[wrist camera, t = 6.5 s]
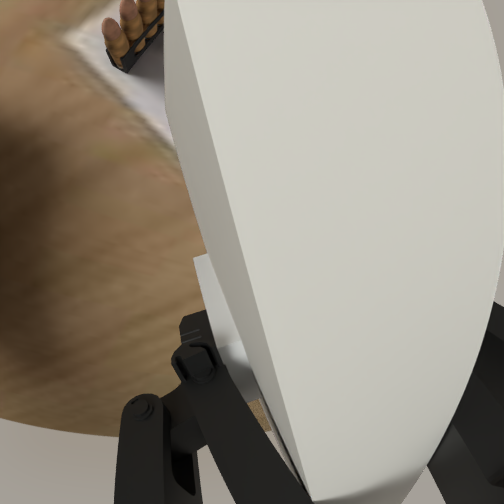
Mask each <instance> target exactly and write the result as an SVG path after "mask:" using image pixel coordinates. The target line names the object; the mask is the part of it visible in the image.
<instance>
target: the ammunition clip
mask: <svg viewBox="0 0 504 504" xmlns="http://www.w3.org/2000/svg"><path fill="white" fill-rule="evenodd" d="M164 2H165V0H137V1H136V4H135V2H134V0H122V1H121V3H120V18H121V19H120V26H121V28H120V27H119V25H118V23H117V22H116V21H115V20H114V19H112V18H105V19H104V20H103V23H102V33H103V35H104V39H105V45H106V47H107V49H106V52H107V55H108V57H109V59H110V61H111V63H112V65H113V66H114V67H116V68H118V69H119V70H121V71H123V72H125V73H128V72H129V71H130V69H131V68H132V67H133V65H134V64H135V63H136V61H137V60H138V59H139V58H140V56H141V55H142V54H143V52H144V51H145V50H146V49H147V48H148V46H149V45H150V44H151V43H152V42H153V40H154V39H155V38H156V37H157V36H158V34H159V33H160V32H161V31H162V30H163V29H164ZM121 29H122V30H121Z"/></svg>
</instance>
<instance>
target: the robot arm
mask: <svg viewBox="0 0 504 504" xmlns="http://www.w3.org/2000/svg"><path fill="white" fill-rule="evenodd" d="M193 260H194V264H195V268H196V272H197V276H198V280H199V284H200V288H201V292H202V296H203V299H204V303H205V307H206V310H203V311H200V312H197V313H194V314H191V315H187V316H184V317H183V319H182V321H181V323H180V325H179V329H180V335H181V343H182V345H181V346H180V347H179V348H178V349H177V350H176V351H175V352H174V354H173V356H172V358H171V364H172V366H173V368H174V370H175V371H176V373H177V375H178V377H179V378H180V380H181V384H180V385H179V386H178V387H177V388H176V389H175V390H173V391H172V392H170V393H169V394H167V395H165V396H163V397H162V398H159V397H158V396H156V395H153V394H141V395H139V396H136V397H134V398H133V399H131V400H130V401H129V402H128V403H127V404H126V406H125V407H124V409H123V412H122V418H121V425H120V434H119V443H118V454H117V464H116V477H115V492H114V504H203V501H202V493H201V485H200V477H199V467H198V457H197V450H199V449H200V448H202V447H204V446H205V445H208V447H209V449H210V451H211V454H212V456H213V458H214V460H215V462H216V464H217V467H218V469H219V471H220V473H221V475H222V477H223V479H224V481H225V483H226V485H227V487H228V489H229V491H230V493H231V495H232V497H233V499H234V501H235V503H236V504H314V503H313V501H312V500H311V498H310V497H309V496H308V494H307V493H306V492H305V490H304V489H303V488H302V486H301V485H300V483H299V482H298V481H297V479H296V478H295V476H294V475H293V473H292V472H291V471H290V469H289V468H288V466H287V465H286V464H285V462H284V461H283V459H282V458H281V456H280V455H279V453H278V452H277V450H276V449H275V447H274V446H273V444H272V443H271V441H270V440H269V438H268V437H267V435H266V433H265V432H264V430H263V429H262V427H261V426H260V424H259V422H258V421H257V419H256V418H255V416H254V415H253V413H252V411H251V410H250V408H249V406H248V405H247V403H248V402H251V401H254V400H257V399H259V398H262V397H261V394H260V392H259V389H258V386H257V383H256V381H255V378H254V375H253V372H252V369H251V367H250V364H249V361H248V358H247V355H246V352H245V349H244V347H243V344H242V341H241V338H240V336H239V333H238V331H237V328H236V326H235V323H234V321H233V318H232V316H231V313H230V311H229V308H228V306H227V303H226V300H225V298H224V295H223V293H222V290H221V287H220V285H219V282H218V280H217V277H216V274H215V272H214V269H213V266H212V264H211V261H210V258H209V256H208V253H207V254H204V255H201V256H198V257H195V258H193ZM427 467H428V468H429V471H430V472H431V474H432V476H433V478H434V480H435V482H436V484H437V486H438V488H439V490H440V492H441V494H442V496H443V498H444V500H445V502H446V504H504V307H503V306H501V305H499V304H497V303H496V302H494V301H493V305H492V309H491V313H490V317H489V321H488V324H487V328H486V331H485V334H484V338H483V341H482V344H481V347H480V350H479V353H478V356H477V359H476V362H475V365H474V367H473V370H472V373H471V375H470V378H469V381H468V383H467V385H466V388H465V390H464V393H463V395H462V397H461V400H460V402H459V404H458V406H457V409H456V411H455V413H454V415H453V417H452V419H451V421H450V423H449V425H448V427H447V429H446V431H445V433H444V435H443V437H442V439H441V441H440V443H439V445H438V446H437V448H436V450H435V452H434V454H433V455H432V457H431V459H430V460H429V462H428V464H427Z"/></svg>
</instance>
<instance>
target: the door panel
mask: <svg viewBox="0 0 504 504" xmlns="http://www.w3.org/2000/svg"><path fill="white" fill-rule="evenodd" d="M164 85H165V110H166V114H167V118H168V122H169V126H170V129H171V133H172V137H173V140H174V144H175V147H176V151H177V155H178V158H179V162H180V165H181V169H182V172H183V175H184V179H185V182H186V186H187V189H188V192H189V196H190V199H191V202H192V206H193V209H194V212H195V216H196V219H197V222H198V225H199V228H200V232H201V235H202V238H203V241H204V244H205V248H206V251H207V253H208V256H209V258H210V261H211V264H212V266H213V269H214V272H215V274H216V277H217V280H218V282H219V285H220V287H221V290H222V293H223V295H224V298H225V300H226V303H227V306H228V308H229V311H230V313H231V316H232V318H233V321H234V323H235V326H236V328H237V331H238V333H239V336H240V338H241V341H242V344H243V347H244V349H245V352H246V355H247V358H248V361H249V364H250V367H251V369H252V372H253V375H254V378H255V381H256V383H257V386H258V389H259V392H260V394H261V397H262V398H259V401H260V403H261V405H262V408H263V410H264V413H265V415H266V417H267V420H268V422H269V425H270V427H271V429H272V432H273V433H274V436H275V439H276V441H277V443H278V446H279V448H280V450H281V453H282V455H283V457H284V459H285V462H286V464H287V466H288V468H289V469H290V471H291V472H292V473H293V475H294V476H295V478H296V479H297V481H298V482H299V483H300V485H301V486H302V488H303V489H304V490H305V492H306V493H307V494H308V496H309V497H310V498H311V500H312V501H313V503H314V504H401V503H402V502H403V500H404V499H405V497H406V496H407V495H408V493H409V492H410V490H411V489H412V487H413V486H414V484H415V483H416V481H417V480H418V478H419V477H420V475H421V474H422V472H423V470H424V469H425V467H426V465H427V464H428V462H429V460H430V459H431V457H432V455H433V454H434V452H435V450H436V448H437V446H438V445H439V443H440V441H441V439H442V437H443V435H444V433H445V431H446V429H447V427H448V425H449V423H450V421H451V419H452V417H453V415H454V413H455V411H456V409H457V406H458V404H459V402H460V400H461V397H462V395H463V393H464V390H465V388H466V385H467V383H468V381H469V378H470V375H471V373H472V370H473V367H474V365H475V362H476V359H477V356H478V353H479V350H480V347H481V344H482V341H483V338H484V334H485V331H486V328H487V324H488V321H489V317H490V313H491V309H492V305H493V301H494V297H495V293H496V288H497V283H498V278H499V273H500V267H501V262H502V256H503V249H504V87H503V81H502V75H501V70H500V64H499V60H498V55H497V51H496V46H495V42H494V38H493V35H492V30H491V27H490V23H489V20H488V17H487V13H486V11H485V8H484V4H483V2H482V0H165V2H164Z"/></svg>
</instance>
